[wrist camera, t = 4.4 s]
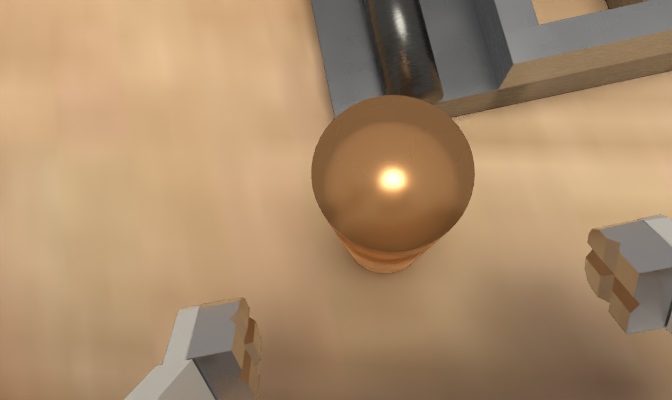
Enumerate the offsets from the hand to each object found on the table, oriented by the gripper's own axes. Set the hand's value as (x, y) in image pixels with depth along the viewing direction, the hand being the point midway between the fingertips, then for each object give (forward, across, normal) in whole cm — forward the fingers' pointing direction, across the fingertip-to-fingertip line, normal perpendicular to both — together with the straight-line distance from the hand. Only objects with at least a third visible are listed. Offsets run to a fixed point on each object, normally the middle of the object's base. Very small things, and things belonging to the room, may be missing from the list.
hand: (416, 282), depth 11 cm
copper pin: (+7, 0, +4) cm, 8 cm away
